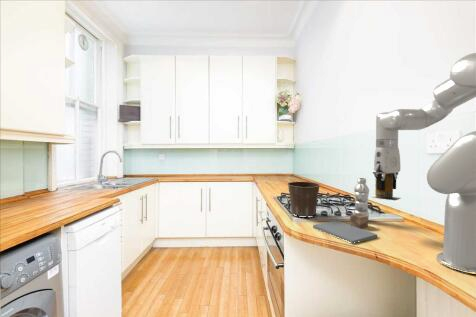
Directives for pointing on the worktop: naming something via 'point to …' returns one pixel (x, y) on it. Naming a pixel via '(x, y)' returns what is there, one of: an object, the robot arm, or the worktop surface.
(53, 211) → the worktop surface
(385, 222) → the worktop surface
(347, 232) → the slate board
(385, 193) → the condiment
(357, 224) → the walnut block
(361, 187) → the plastic bottle
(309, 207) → the plant pot
